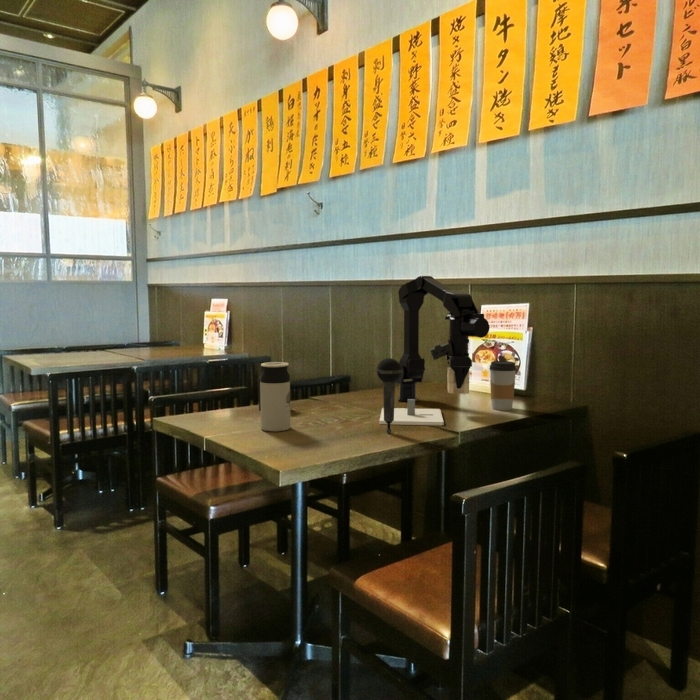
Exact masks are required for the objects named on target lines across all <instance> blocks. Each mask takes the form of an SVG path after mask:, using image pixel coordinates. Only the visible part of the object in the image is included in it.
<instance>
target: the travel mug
mask: <svg viewBox="0 0 700 700" xmlns="http://www.w3.org/2000/svg"><path fill="white" fill-rule="evenodd" d="M289 365H290V364H289V362H285V361H284V362H283V361H270V362H263V363H261V364H260V366H261V370H262V371H261V374H260V376H259V378H260V391H261V410H260V429H261V430H262V431H265V432H272V433H275V432H276V433H277V432H284V431H287V430H289V429H290V428H291V376H290V373H289V371H288V367H289Z"/></svg>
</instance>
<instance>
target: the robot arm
mask: <svg viewBox="0 0 700 700" xmlns="http://www.w3.org/2000/svg"><path fill="white" fill-rule="evenodd" d="M428 294H429V295H432V296H433V297H435V298H436V299H437V300H439V301H440V302H442V305H443V308H445V309H446V310H447V311H448V314H447V315H446V316H445V318H444V320H447V321H449V324H448V326H449V327H448V330H449V332H448V333H449V337H448V338H447V342H446V343H443V344H440V343H439V344H438V345H434V347H432V348H430V349H429V351H430V354H431V357H432V359H433V361H435V360H438V359H439V358H442V357H445V359H446V362H447V365H449V368H451V369H452V370H453V371H454V373H455V379H456V385H457V388H459V389H460V388H461V387H462V384H463V382H464V380H465V378H466V375H467V373H468V371H469V372H470V369H471V367H473V359H472V358H470V353H469V343H470V339H469V337H474V338H480V339H481V338H485V337H486V336H487V335H488V334H489V332H490V328H491V327H490V322H489V321H488V320H487V318H485V314H484V313H480V312H479V310H478V308H477V307H476V305H475V302H474V300H473V297H472V295H471V294H469V293H467V292H464V291H460V290H459V291H458V290H454V289H452V288H450V287H448V286H447V285H445V284H443V283H442V282H440V281H438V280H436V279H435V278H434V277H433V276H432V275H419V276H417V277H416V278H415V279H413V280H410V281H407V282H405V283H404V284H402V285H401V286H400V288H399V289H398V300H399V301H398V302H399V304H400V307H401V308H402V309H403V354H402V356H401V357H400V359H399V364H400V366H401V369H402V373H401V376H400V378H399V379H398V380H397V381H395V384H398V385H399V388H398V389H399V391H398V392H399V396H398V398H397V401H398V402H408V399H415V403H416V402H418V397H417V383H422V382H423V377H424V374H425V371H426V367H425V365H426V364H425V362H426V361H425V358H422V356H421V355H420V353H419V349H420V345H419V344H420V343H419V342H420V341H419V340H420V339H419V338H420V333H419V332H420V331H419V330H420V327H419V326H420V324H419V323H420V321H419V320H420V309H422V306H423V304H424V300H425V297H426V296H427V295H428Z"/></svg>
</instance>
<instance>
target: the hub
mask: <svg viewBox="0 0 700 700" xmlns="http://www.w3.org/2000/svg"><path fill="white" fill-rule="evenodd" d="M406 403H407V405H406V408H403V407H401V408H400V407H396V408H395V407H394V421H392V423H390V425H395V426H396V425H398V426H400V425H401V426H403V425H404V426H405V425H406V426H442V425H443V426H444V425H445V424H444V419H443V415H442V411H441V408H416V402H415V399H408V401H406ZM378 424H379V425H388V423H386V421H384V407H381V411H380V416H379V423H378Z"/></svg>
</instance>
